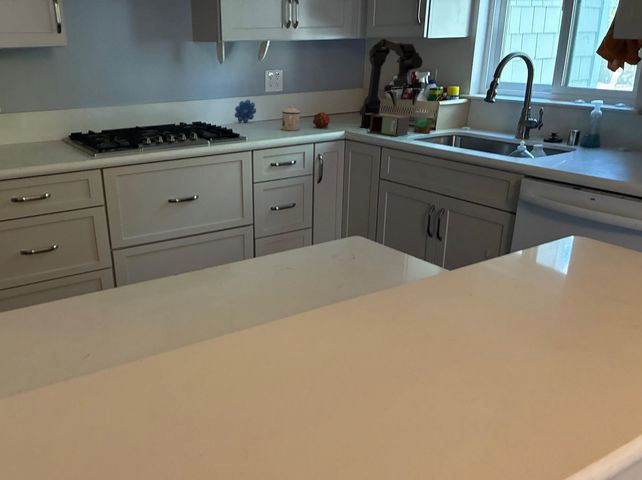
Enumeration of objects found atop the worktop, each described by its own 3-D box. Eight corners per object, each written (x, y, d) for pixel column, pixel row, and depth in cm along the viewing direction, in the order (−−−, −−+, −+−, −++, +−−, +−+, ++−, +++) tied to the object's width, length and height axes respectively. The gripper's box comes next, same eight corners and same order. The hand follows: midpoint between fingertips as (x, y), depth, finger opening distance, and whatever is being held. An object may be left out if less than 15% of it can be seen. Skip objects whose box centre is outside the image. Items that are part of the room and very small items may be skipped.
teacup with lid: (282, 127, 319) (283, 104, 314) (299, 128, 318) (300, 105, 314) (280, 131, 308) (281, 106, 303) (298, 131, 307) (299, 107, 303)
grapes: (256, 122, 336) (257, 99, 332) (255, 123, 330) (255, 100, 325) (235, 121, 337) (235, 98, 333) (233, 122, 331) (234, 99, 326)
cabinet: (366, 132, 311) (368, 114, 307) (380, 130, 319) (382, 113, 315) (394, 136, 300) (396, 118, 297) (407, 134, 309) (409, 116, 305)
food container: (406, 131, 320) (408, 111, 316) (416, 130, 322) (418, 110, 318) (421, 134, 310) (424, 114, 306) (431, 134, 312) (434, 113, 308)
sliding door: (378, 133, 304) (379, 117, 301) (382, 132, 307) (383, 116, 304) (391, 135, 299) (393, 119, 296) (395, 134, 302) (397, 118, 299)
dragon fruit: (318, 132, 318) (320, 132, 330) (332, 122, 316) (333, 123, 327) (309, 118, 317) (311, 118, 329) (323, 108, 315) (325, 109, 326)
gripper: (379, 72, 289) (378, 106, 293) (417, 67, 278) (416, 104, 282) (389, 73, 298) (388, 107, 301) (426, 70, 287) (425, 104, 291)
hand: (404, 106), depth 293 cm, fingers open, 9 cm apart
